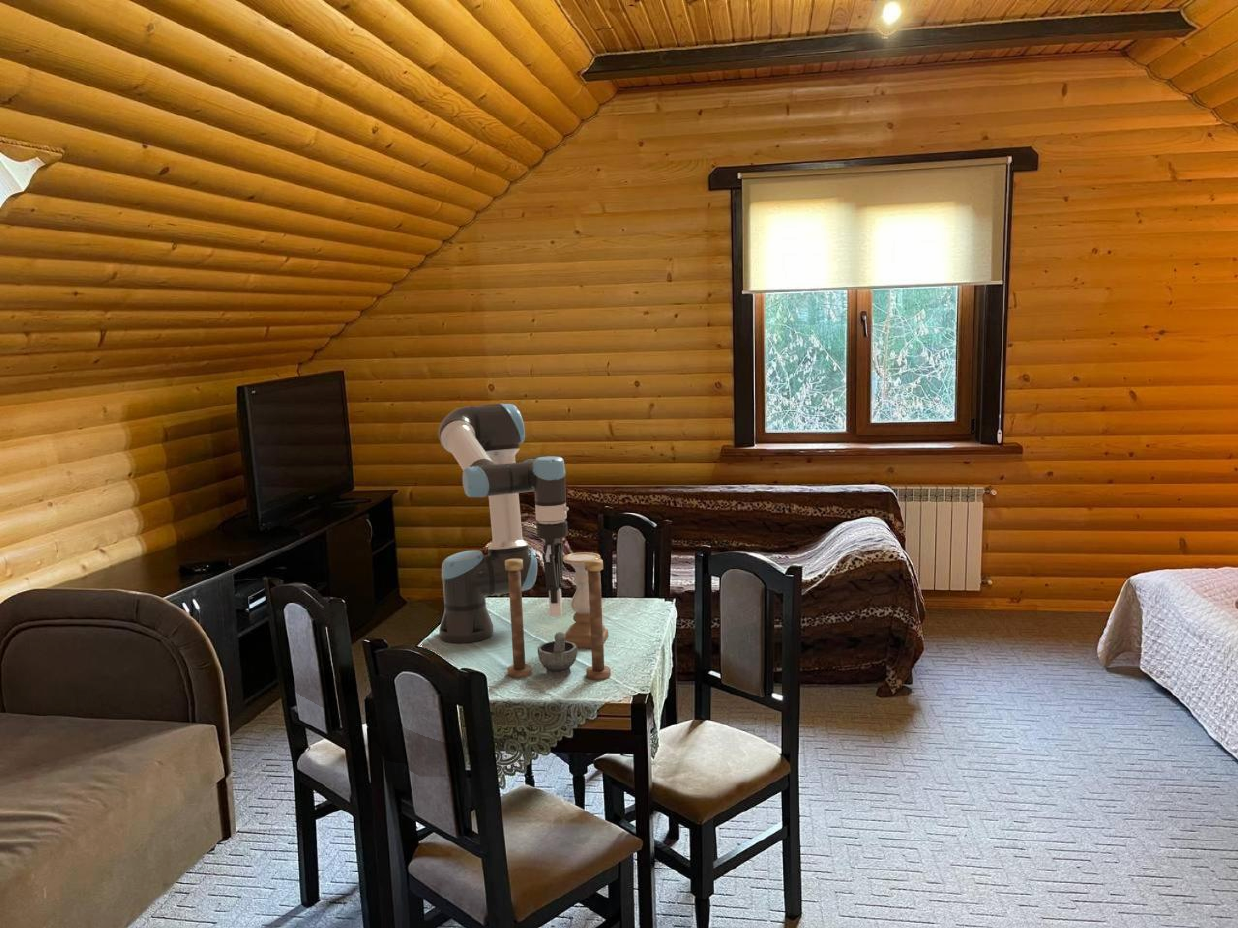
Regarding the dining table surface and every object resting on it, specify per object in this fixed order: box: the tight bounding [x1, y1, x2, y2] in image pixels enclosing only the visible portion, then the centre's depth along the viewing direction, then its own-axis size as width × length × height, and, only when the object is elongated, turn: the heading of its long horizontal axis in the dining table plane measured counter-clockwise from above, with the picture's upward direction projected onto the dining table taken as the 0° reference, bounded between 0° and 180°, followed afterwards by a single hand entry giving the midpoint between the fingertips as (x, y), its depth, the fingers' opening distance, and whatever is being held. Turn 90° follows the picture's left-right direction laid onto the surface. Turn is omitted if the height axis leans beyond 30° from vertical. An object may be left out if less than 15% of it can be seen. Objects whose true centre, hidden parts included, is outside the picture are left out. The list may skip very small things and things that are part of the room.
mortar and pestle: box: [537, 631, 578, 679], centre depth 231 cm, size 11×9×12 cm
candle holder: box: [563, 551, 609, 649], centre depth 254 cm, size 11×11×24 cm
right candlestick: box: [585, 558, 612, 681], centre depth 228 cm, size 6×6×29 cm
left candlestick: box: [505, 559, 533, 679], centre depth 231 cm, size 6×6×29 cm
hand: (556, 614), depth 230 cm, fingers closed
